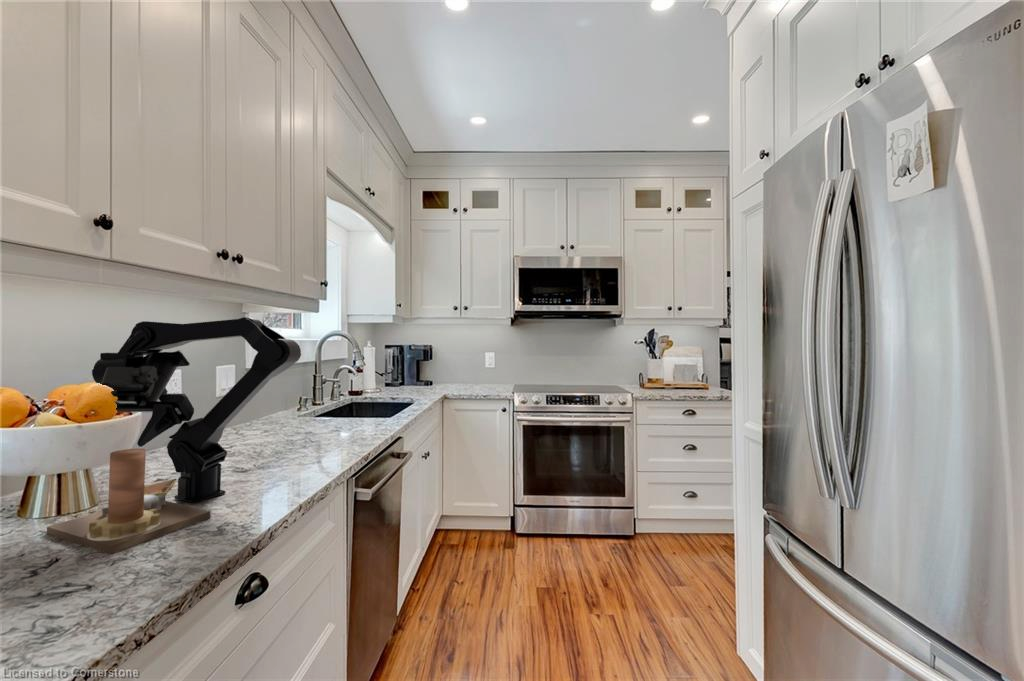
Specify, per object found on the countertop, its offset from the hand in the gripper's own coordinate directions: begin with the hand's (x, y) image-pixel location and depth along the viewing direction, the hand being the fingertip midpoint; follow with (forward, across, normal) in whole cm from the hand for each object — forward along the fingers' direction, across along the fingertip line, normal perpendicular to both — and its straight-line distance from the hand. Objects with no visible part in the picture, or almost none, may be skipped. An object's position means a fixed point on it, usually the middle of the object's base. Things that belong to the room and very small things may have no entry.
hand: (109, 446), depth 76 cm
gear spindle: (+13, +6, +4) cm, 15 cm away
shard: (-1, -3, +22) cm, 22 cm away
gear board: (+11, +5, +8) cm, 15 cm away
